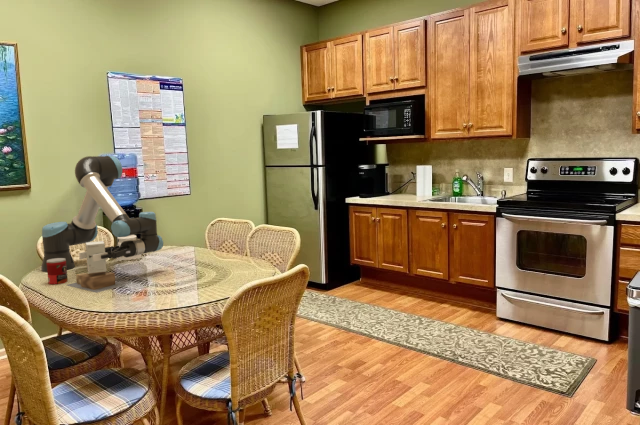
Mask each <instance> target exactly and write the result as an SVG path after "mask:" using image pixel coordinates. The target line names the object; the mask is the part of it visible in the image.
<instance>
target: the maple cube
mask: <svg viewBox="0 0 640 425" xmlns="http://www.w3.org/2000/svg"><path fill="white" fill-rule="evenodd" d="M84 274H89V273H88V272H87V273H86V272H83V273H78V274H75V278H76V280H75V281H76V282H77V284H81V279H80V275H84Z"/></svg>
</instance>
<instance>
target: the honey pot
mask: <svg viewBox="0 0 640 425" xmlns="http://www.w3.org/2000/svg"><path fill="white" fill-rule="evenodd" d="M136 238H138V237H137V235H136V234H135V235H130V236H126V237H117V240H118V242H117V245H116V246H119V247H120V245H121V243H122V242H124V241H129V240H136ZM141 257H142V254H141V255H136V256H131V257H124V256H122V257H118V258H116V260H120V261H127V260H135V259H140V258H141Z"/></svg>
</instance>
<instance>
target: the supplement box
mask: <svg viewBox="0 0 640 425" xmlns="http://www.w3.org/2000/svg"><path fill="white" fill-rule="evenodd" d="M84 244H85V252H86V256H87V258H86V265H87V266H86V267H87V273H88V274H90V273H97V272H108V270H107V269H108V268H107V259H104V260H100V261H95V262H93V258H92V255H96V254H101V253H105V248H106V244H105V241H103V240H100V241H91V242H87V243H84Z"/></svg>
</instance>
